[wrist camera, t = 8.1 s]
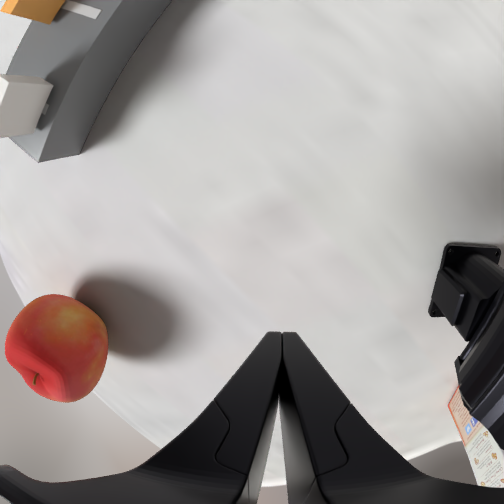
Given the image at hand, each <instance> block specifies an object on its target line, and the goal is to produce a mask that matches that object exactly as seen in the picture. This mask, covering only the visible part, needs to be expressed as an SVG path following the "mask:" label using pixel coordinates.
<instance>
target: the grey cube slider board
mask: <svg viewBox="0 0 504 504" xmlns="http://www.w3.org/2000/svg"><path fill="white" fill-rule="evenodd" d="M171 1H172V0H65V2H64V3H63V5H62V6H61V8H60V9H59V11H58V12H57V14H56V15H55V17H54V19H53V20H52V22H51V24H50V25H49V24H45V23H42V22H39V21H35V20H32V22H31V24H30V25H29V27H28V29H27V31H26V33H25V34H24V36H23V38H22V40H21V42H20V44H19V46H18V48H17V50H16V52H15V55H14V57H13V59H12V61H11V63H10V66H9V68H8V70H7V73H6V74H7V75H22V76H33V77H40V78H42V79H44V80H45V81H47V82H49V83H50V84H52V85H54V86H53V88H52V90H51V92H50V94H49V96H48V99H47V101H46V103H45V106H44V108H43V110H42V113H41V115H40V118H39V120H38V123H37V126H36V128H35V131H34V134H26V135H18V136H11V137H9V138H10V139H11V140H12V141H13V142H14V143H15V144H17V145H18V146H19V147H20V148H21V149H22V150H24V151H25V152H26V153H27V154H28V155H29V156H31V157H32V158H33V159H34V160H35V161H37V162H38V163H39V162H44V161H49V160H54V159H59V158H64V157H69V156H74V155H79V154H80V152H81V149H82V147H83V145H84V143H85V140H86V138H87V136H88V134H89V132H90V130H91V127H92V125H93V123H94V121H95V119H96V117H97V115H98V113H99V111H100V109H101V107H102V106H103V104H104V102H105V100H106V98H107V96H108V94H109V93H110V91H111V89H112V87H113V85H114V84H115V82H116V80H117V79H118V77H119V75H120V74H121V72H122V70H123V69H124V67H125V65H126V64H127V62H128V61H129V59H130V57H131V56H132V54H133V53H134V51H135V50H136V48H137V47H138V45H139V44H140V42H141V41H142V40H143V38H144V37H145V35H146V34H147V32H148V31H149V30H150V28H151V27H152V26H153V24H154V23H155V22H156V20H157V19H158V18H159V16H160V15H161V14H162V12H163V11H164V10H165V9H166V7H167V6H168V5H169V4H170V3H171Z"/></svg>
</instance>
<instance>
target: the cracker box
mask: <svg viewBox="0 0 504 504" xmlns="http://www.w3.org/2000/svg"><path fill="white" fill-rule="evenodd" d="M448 408H449V410H450V412H451V414H452V417H453V419H454V422H455V424H456V426H457V429H458V432H459V434H460V437H461V439H462V442H463V444H464V447H465V449H466V452H467V455H468V457H469V460H470V463H471V466H472V469H473V472H474V474H475V478H476V480H477V484H478V486H486V487H497V488H503V487H504V450H502V449H500V447H499V446H498V444H497V443H496V441H495V440H494V438H493V437H492V435H491V434H490V432H489V431H488V430H487V429H486V428H485V427H484V426H483V425H482V424H481V423H480V422H479V421H478V420H476V419H475V418H474V417H472V416H471V415H470V414H469V411H468V410H467V408H466V407H464V405H463V402H462V399H461V394H460V392H459V386H458V387H457V389H456V391H455V393H454V395H453V397H452V399H451V401H450V402H449V404H448Z"/></svg>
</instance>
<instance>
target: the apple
mask: <svg viewBox="0 0 504 504" xmlns="http://www.w3.org/2000/svg"><path fill="white" fill-rule="evenodd" d="M107 354H108V334H107V329H106V326H105V324H104V322H103V321H102V319H101V318H100V317H99V316H98V315H97V314H96V313H95V312H93V311H92V310H91V309H90V308H88V307H87V306H86V305H84V304H83V303H81V302H79V301H77V300H75V299H73V298H71V297H68V296H63V295H57V294H51V295H44V296H41V297H39V298H37V299H35V300H33V301H32V302H30V303H29V304H28V305H27V306H26V307H24V308H23V310H22V311H21V312H20V313H19V314H18V316H17V317H16V318H15V320H14V321H13V323H12V325H11V327H10V329H9V331H8V334H7V337H6V342H5V355H6V358H7V361H8V362H9V363H10V364H11V366H13V367H14V368H15V369H16V370H17V371H18V372H19V373H20V374H21V375H22V377H23V378H24V380H25V382H26V383H27V385H28V386H29V387H30V388H31V389H33V390H34V391H35V392H36V393H38V394H39V395H41V396H43V397H45V398H48V399H50V400H54V401H59V402H74V401H77V400H80V399H81V398H83V397H85V396H86V395H88V394H89V393H90V392H91V391H92V390H93V389H94V387H95V386H96V385H97V383H98V381H99V380H100V378H101V375H102V373H103V371H104V368H105V364H106V360H107Z"/></svg>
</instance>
